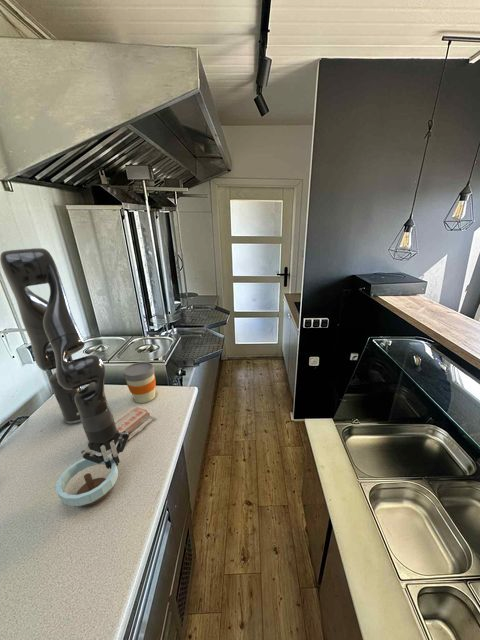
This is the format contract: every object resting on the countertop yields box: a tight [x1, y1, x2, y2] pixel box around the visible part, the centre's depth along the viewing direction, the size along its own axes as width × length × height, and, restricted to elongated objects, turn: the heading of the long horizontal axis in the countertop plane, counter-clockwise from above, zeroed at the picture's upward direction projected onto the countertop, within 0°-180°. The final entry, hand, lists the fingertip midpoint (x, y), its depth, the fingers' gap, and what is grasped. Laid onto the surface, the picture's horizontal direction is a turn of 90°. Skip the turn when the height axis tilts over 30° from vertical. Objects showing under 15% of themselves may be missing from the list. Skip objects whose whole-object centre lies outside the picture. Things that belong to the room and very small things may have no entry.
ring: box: [55, 454, 119, 507], centre depth 84 cm, size 15×15×3 cm
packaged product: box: [115, 406, 155, 448], centre depth 110 cm, size 18×5×10 cm
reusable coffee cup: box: [123, 361, 157, 404], centre depth 128 cm, size 13×13×15 cm
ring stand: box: [76, 472, 111, 508], centre depth 85 cm, size 9×9×8 cm
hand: (113, 465), depth 88 cm, fingers closed on ring, 1 cm apart
